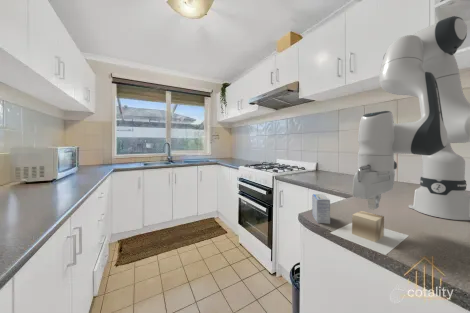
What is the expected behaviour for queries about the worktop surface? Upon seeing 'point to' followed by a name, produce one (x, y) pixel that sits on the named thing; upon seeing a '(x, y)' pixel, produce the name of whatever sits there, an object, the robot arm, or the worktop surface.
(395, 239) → the white flat sheet
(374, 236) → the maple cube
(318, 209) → the medicine box
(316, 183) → the worktop surface
